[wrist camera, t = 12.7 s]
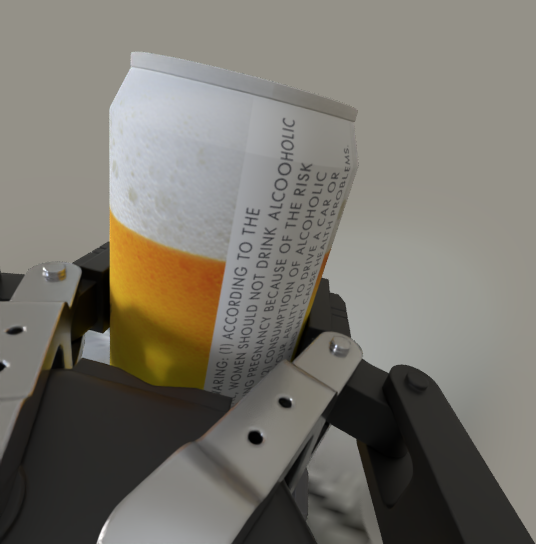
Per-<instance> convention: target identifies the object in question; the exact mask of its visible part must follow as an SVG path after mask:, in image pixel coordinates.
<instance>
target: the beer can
mask: <svg viewBox="0 0 536 544" xmlns="http://www.w3.org/2000/svg"><path fill="white" fill-rule="evenodd" d="M131 66H132V68H130V70H129V72H128V74H127V76H126V78H125V80H124V82H123V84H122V85H121V87H120V89H119V91H118V93H117V95H116V97H115V99H114V101H113V103H112V105H111V107H110V365H112V366H115V367H119V368H121V369H123V370H125V371H126V372H128V373H130V374H132V375H134V376H136V377H137V378H139V379H141V380H143V381H145V382H147V383H149V384H151V385H155V386H171V387H190V388H198V389H202V390H206V391H209V392H213V393H217V394H221V395H224V396H228V397H232V398H233V400H232V404H231V408H232V407H233V406H234V405H235V404H236V403H238V402H239V401H240V400H241V399H242V398H243V397H244V396H245V395H246V394H247V393H248V392H249V391H250V390H251V389H252V388H253V387H254V386H255V385H256V384H257V383H259V382H260V381H261V380H262V379H263V378H264V377H265V376H266V375H267V374H268V373H269V372H270V371H271V370H272V369H273V368H274V367H275V366H276V365H277V364H279V363H280V362H281V361H282V360H284V359H287V360H288V361H290V362H293V361H294V359H295V356H296V353H297V350H298V347H299V344H300V340H301V337H302V334H303V331H304V328H305V325H306V322H307V319H308V316H309V313H310V311H311V308H312V305H313V302H314V299H315V296H316V293H317V289H318V286H319V283H320V280H321V277H322V274H323V271H324V268H325V265H326V262H327V259H328V256H329V253H330V250H331V247H332V244H333V241H334V238H335V235H336V232H337V229H338V226H339V223H340V220H341V217H342V214H343V211H344V208H345V205H346V202H347V199H348V196H349V193H350V190H351V187H352V184H353V181H354V178H355V175H356V172H357V169H358V156H357V145H356V136H355V126H354V123H353V122H355V120H356V116H357V113H358V110H356V109H355V108H354V107H352V106H350V105H347V104H345V103H342V102H340V101H337V100H334V99H331V98H328V97H324V96H321V95H318V94H315V93H311V92H309V91H305V90H302V89H298V88H295V87H291V86H288V85H284V84H280V83H277V82H274V81H270V80H266V79H262V78H258V77H255V76H251V75H247V74H243V73H239V72H235V71H231V70H227V69H223V68H219V67H215V66H210V65H206V64H202V63H198V62H193V61H188V60H183V59H179V58H174V57H169V56H164V55H158V54H153V53H146V52H132V53H131ZM231 408H230V409H231Z"/></svg>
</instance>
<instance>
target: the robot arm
mask: <svg viewBox="0 0 536 544" xmlns="http://www.w3.org/2000/svg"><path fill="white" fill-rule="evenodd" d="M347 318H348V317H347V312H346V305H345V302H344V301H343V300H342V298H341V297H340V296H339V295H338V294H334V293H330V291H329V280H328V279H325V278H321V280H320V283H319V286H318V289H317V293H316V296H315V299H314V302H313V305H312V308H311V311H310V313H309V316H308V319H307V322H306V325H305V328H304V331H303V334H302V337H301V340H300V344H299V347H298V350H297V353H296V356H295V359H294V361H293V362H290V361H288V360H287V359H284V360H282V361H281V362H280V363H279V364H277V365H276V366H275V367H274V368H273V369H272V370H271V371H270V372H269V373H268V374H267V375H266V376H265V377H264V378H263V379H262V380H261V381H260V382H259V383H257V384H256V385H255V386H254V387H253V388H252V389H251V390H250V391H249V392H248V393H247V394H246V395H245V396H244V397H243V398H242V399H241V400H240V401H239V402H238V403H236V404H235V405H234V406H233V407H232V408H231V404H232V400H233V398H232V397H228V396H224V395H221V394H217V393H213V392H209V391H206V390H202V389H198V388H190V387H171V386H155V385H151V384H149V383H147V382H145V381H143V380H141V379H139V378H137V377H136V376H134V375H132V374H130V373H128V372H126V371H125V370H123V369H121V368H119V367H115V366H112V365H108V364H104V363H100V362H97V361H93V360H89V359H85V358H81V357H82V353H83V348H84V344H85V333H86V332H87V331H88V330H92V331H96V332H99V333H104V332H105V331H106V330H107V329H108V328H109V327H110V241H109V242H107V243H105V244H103V245H102V246H100V248H97V249H95V250H93V251H92V253H91V252H90V253H88V254H87V255H85V256H83V257H81V258H80V259H78V260H76V261H75V262H73V263H67V262H47V263H42V264H39V265H36V266H33V267H32V268H30V269H29V270H28V271H27V273H26V274H25V275H24V274H11V273H1V271H0V544H317V542H316V540H315V538H314V536H313V534H312V532H311V531H310V529H309V527H308V525H307V523H306V521H305V519H304V517H303V515H302V513H301V511H300V509H299V507H298V506H297V504H296V502H295V500H294V498H293V496H292V493H293V491H294V489H295V487H296V486H297V484H298V482H299V480H300V478H301V476H302V474H303V472H304V470H305V468H306V466H307V465H308V463H309V461H310V460H311V458H312V456H313V455H314V453H315V451H316V450H317V448H318V446H319V445H320V443H321V441H322V440H323V438H324V436H325V435H326V433H327V431H328V430H329V428H330V426H331V425H333V426H335V427H337V428H338V429H340V430H342V431H344V432H345V433H347V434H349V435H351V436H352V437H354V438H356V439H357V440H356V441H357V446H358V450H359V453H360V457H361V461H362V465H363V468H364V472H365V476H366V480H367V484H368V487H369V491H370V495H371V499H372V503H373V506H374V510H375V514H376V518H377V521H378V525H379V529H380V533H381V537H382V540H383V544H535V543H534V541H533V540H532V538H531V536H530V534H529V533H528V531H527V530H526V528H525V526H524V525H523V523H522V522H521V520H520V518H519V517H518V515H517V513H516V512H515V510H514V508H513V507H512V505H511V504H510V502H509V500H508V499H507V497H506V495H505V494H504V492H503V491H502V489H501V488H500V486H499V484H498V482H497V481H496V479H495V478H494V476H493V474H492V473H491V471H490V470H489V468H488V466H487V465H486V463H485V461H484V460H483V458H482V456H481V455H480V453H479V451H478V450H477V448H476V447H475V445H474V443H473V442H472V440H471V439H470V437H469V435H468V433H467V432H466V430H465V429H464V427H463V425H462V424H461V422H460V420H459V419H458V417H457V416H456V414H455V412H454V411H453V409H452V408H451V406H450V404H449V403H448V401H447V399H446V398H445V396H444V394H443V393H442V391H441V390H440V388H439V386H438V385H437V384H436V383H435V381H434V380H433V379H432V378H430V377H429V376H428V375H427V374H425V373H424V372H422V371H420V370H418V369H416V368H414V367H411V366H407V365H396V366H393V367H392V368H391V370H390V372H389V373H387V372H385V371H383V370H381V369H379V368H377V367H375V366H373V365H371V364H369V363H368V362H366V361H365V360H363V359H362V357H363V353H362V349H361V348H360V346H359V345H358V344H357V343H356V342H355V341H354V340H353V339H351V334H350V329H349V322H348V319H347ZM230 408H231V409H230Z"/></svg>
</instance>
